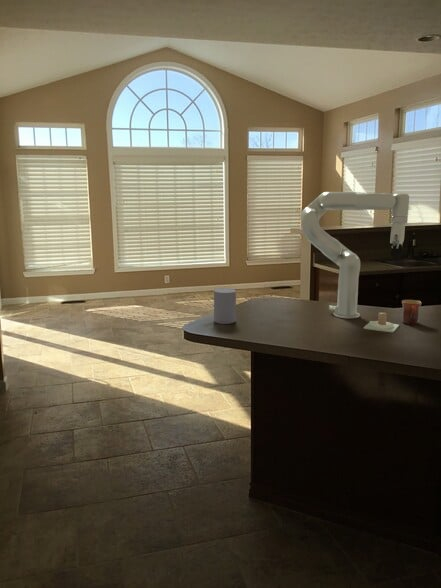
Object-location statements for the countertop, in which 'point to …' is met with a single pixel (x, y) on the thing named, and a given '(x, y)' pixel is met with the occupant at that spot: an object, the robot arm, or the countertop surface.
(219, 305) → the container
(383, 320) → the lid
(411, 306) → the mug
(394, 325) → the mat
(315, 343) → the countertop surface
